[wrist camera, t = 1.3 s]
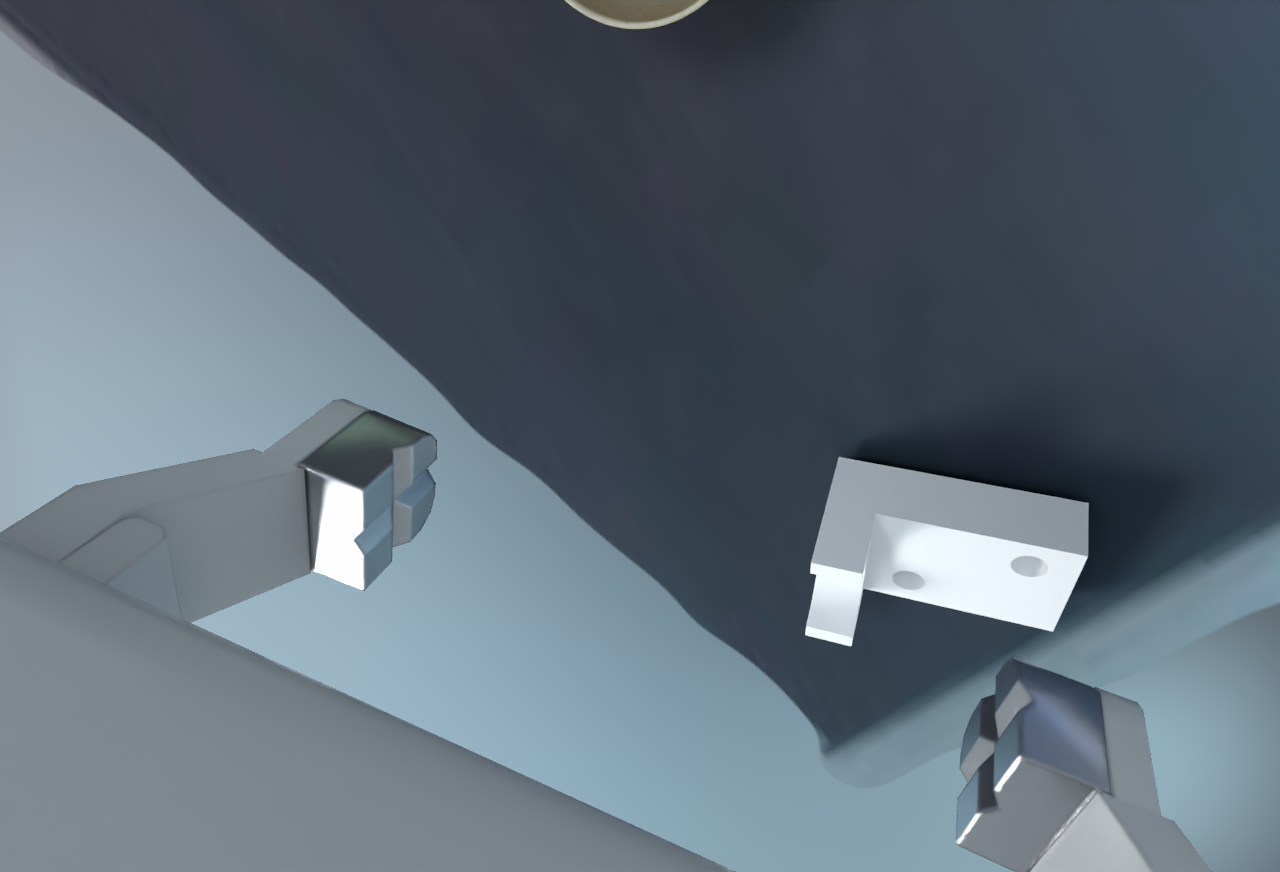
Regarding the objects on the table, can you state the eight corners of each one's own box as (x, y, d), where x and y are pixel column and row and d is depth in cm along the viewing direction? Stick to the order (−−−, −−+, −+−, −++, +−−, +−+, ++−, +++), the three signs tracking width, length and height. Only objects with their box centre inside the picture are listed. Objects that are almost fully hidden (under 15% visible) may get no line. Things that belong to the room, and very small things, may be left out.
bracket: (830, 532, 54) (805, 635, 50) (838, 456, 49) (810, 562, 44) (1055, 579, 50) (1050, 695, 46) (1088, 503, 45) (1087, 624, 41)
